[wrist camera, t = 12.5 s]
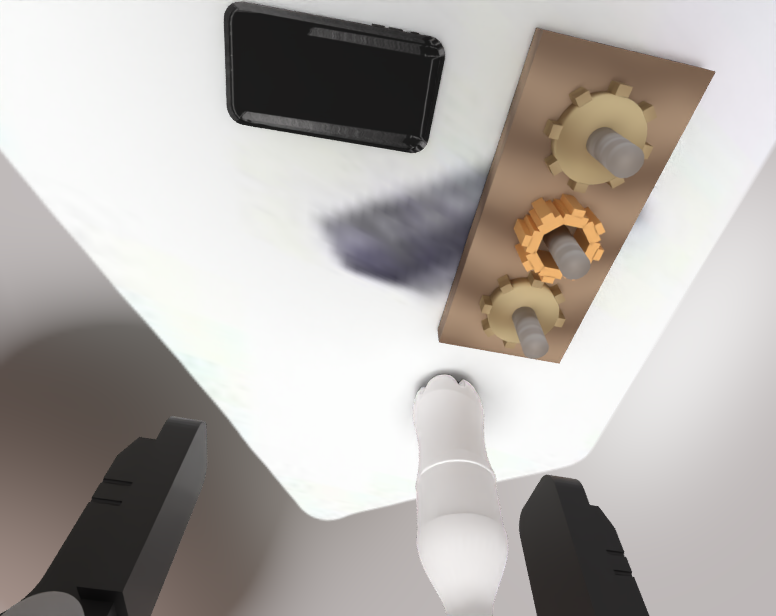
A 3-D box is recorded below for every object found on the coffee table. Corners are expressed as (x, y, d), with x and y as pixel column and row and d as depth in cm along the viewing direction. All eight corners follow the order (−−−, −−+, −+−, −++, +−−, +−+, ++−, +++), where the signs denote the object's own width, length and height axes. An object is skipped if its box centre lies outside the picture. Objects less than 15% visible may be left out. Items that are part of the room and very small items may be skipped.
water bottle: (399, 384, 50) (398, 659, 30) (458, 357, 48) (501, 635, 27) (433, 423, 54) (453, 696, 33) (490, 399, 51) (550, 676, 31)
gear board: (536, 27, 32) (571, 38, 25) (699, 67, 33) (774, 87, 26) (437, 329, 46) (443, 386, 40) (553, 350, 47) (578, 409, 41)
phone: (425, 155, 36) (227, 122, 35) (424, 151, 37) (231, 118, 36) (448, 38, 32) (222, -3, 31) (447, 37, 33) (228, -4, 32)
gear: (529, 186, 36) (538, 201, 33) (606, 202, 36) (620, 218, 34) (502, 257, 39) (509, 275, 37) (572, 270, 40) (584, 289, 37)
